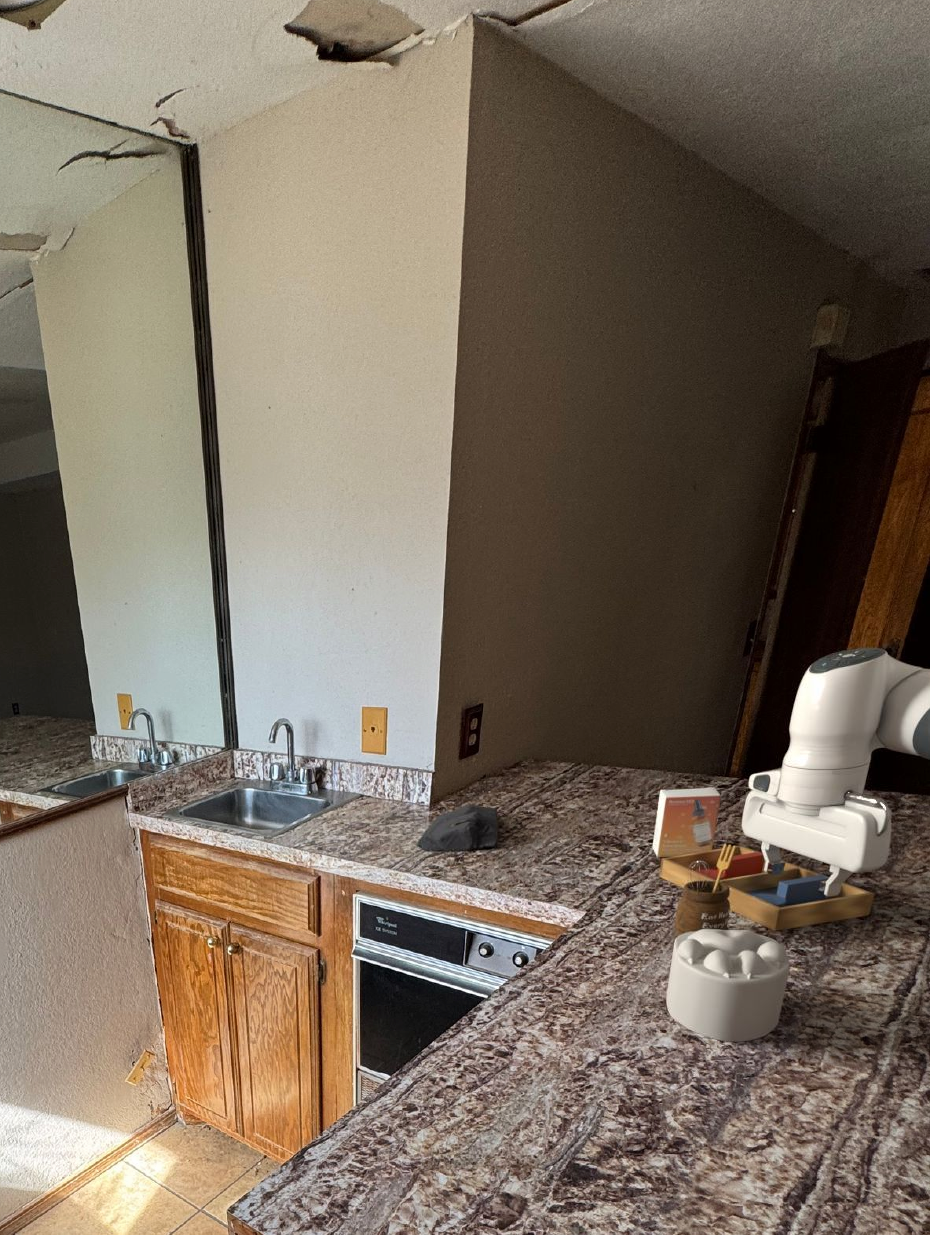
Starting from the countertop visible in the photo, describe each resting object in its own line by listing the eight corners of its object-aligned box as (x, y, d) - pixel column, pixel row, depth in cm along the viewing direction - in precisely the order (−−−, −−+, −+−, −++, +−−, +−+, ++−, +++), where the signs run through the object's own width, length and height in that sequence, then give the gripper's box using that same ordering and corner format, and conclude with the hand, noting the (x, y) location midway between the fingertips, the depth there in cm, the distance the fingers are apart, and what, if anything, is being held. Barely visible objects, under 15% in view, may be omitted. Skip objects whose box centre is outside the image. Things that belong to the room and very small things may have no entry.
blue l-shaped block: (808, 891, 111) (812, 871, 110) (834, 901, 107) (839, 881, 106) (738, 903, 111) (742, 883, 110) (762, 913, 107) (766, 893, 106)
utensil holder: (662, 934, 107) (674, 851, 102) (696, 922, 109) (709, 839, 104) (703, 947, 102) (717, 861, 97) (737, 935, 104) (753, 849, 99)
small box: (656, 858, 132) (664, 797, 128) (651, 848, 137) (659, 788, 132) (712, 857, 129) (722, 794, 125) (705, 847, 134) (715, 786, 129)
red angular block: (747, 867, 122) (750, 849, 120) (769, 876, 118) (772, 857, 116) (683, 878, 121) (686, 859, 120) (703, 887, 117) (706, 868, 116)
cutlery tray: (737, 863, 125) (740, 845, 124) (869, 915, 104) (874, 893, 102) (658, 876, 125) (661, 858, 124) (774, 931, 104) (779, 909, 102)
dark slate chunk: (508, 818, 164) (509, 796, 162) (495, 851, 147) (496, 827, 145) (433, 819, 171) (433, 798, 169) (412, 851, 154) (412, 828, 152)
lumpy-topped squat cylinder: (765, 989, 91) (780, 921, 88) (789, 1046, 81) (806, 972, 77) (662, 983, 96) (672, 918, 92) (672, 1036, 86) (683, 966, 82)
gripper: (919, 796, 92) (890, 904, 98) (783, 766, 111) (766, 859, 117) (867, 805, 92) (841, 912, 98) (740, 774, 111) (725, 866, 117)
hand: (799, 883), depth 108 cm, fingers open, 8 cm apart
